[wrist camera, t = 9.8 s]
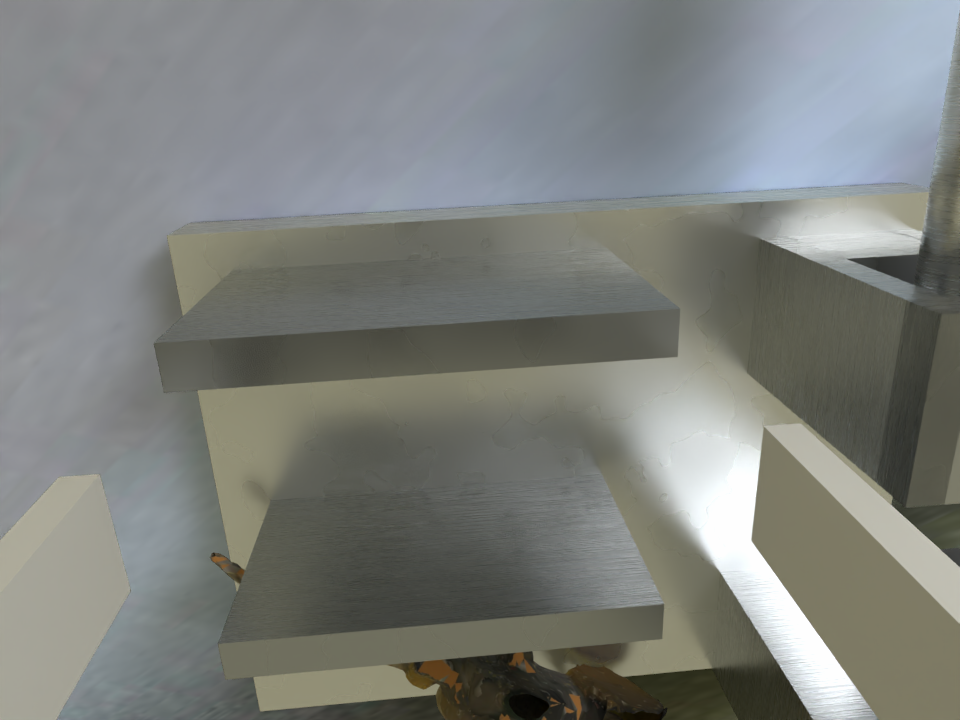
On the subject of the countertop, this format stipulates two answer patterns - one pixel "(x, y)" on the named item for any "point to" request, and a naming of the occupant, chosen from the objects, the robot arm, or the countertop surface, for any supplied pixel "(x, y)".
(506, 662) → the regulator
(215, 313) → the press
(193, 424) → the countertop surface
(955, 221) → the lever
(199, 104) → the countertop surface
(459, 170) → the countertop surface
